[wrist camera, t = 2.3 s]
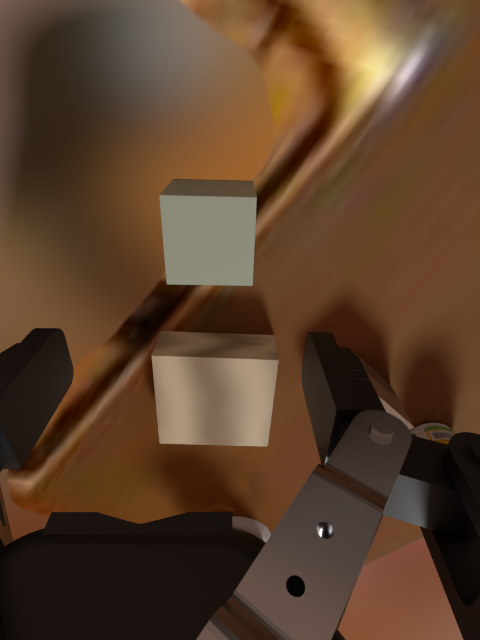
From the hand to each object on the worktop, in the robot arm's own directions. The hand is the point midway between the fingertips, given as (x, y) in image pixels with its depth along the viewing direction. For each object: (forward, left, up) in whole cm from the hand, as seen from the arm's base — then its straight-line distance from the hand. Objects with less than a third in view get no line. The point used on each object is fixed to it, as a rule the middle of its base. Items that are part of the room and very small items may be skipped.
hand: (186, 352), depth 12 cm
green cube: (0, 0, -17) cm, 17 cm away
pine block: (+11, +10, -17) cm, 23 cm away
